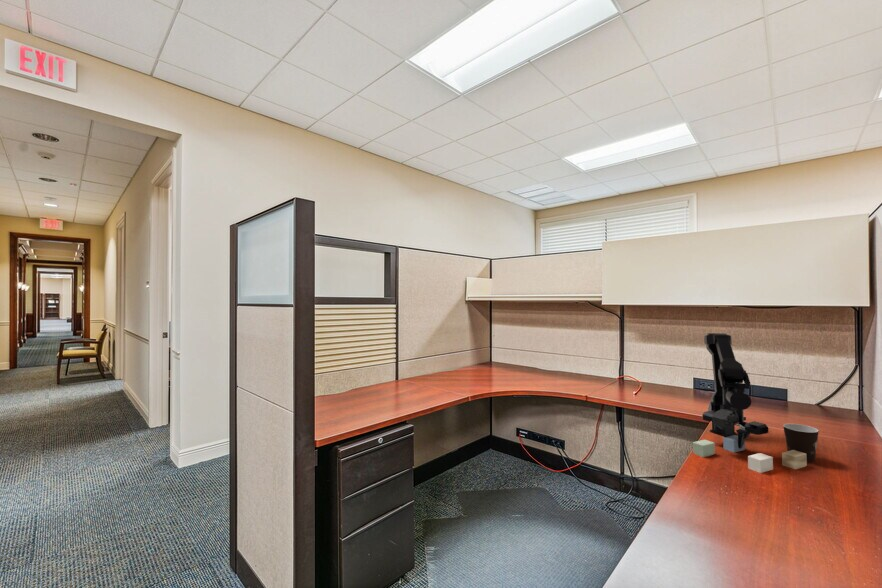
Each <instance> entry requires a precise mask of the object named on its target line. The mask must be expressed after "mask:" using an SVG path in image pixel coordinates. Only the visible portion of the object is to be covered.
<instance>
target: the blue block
mask: <svg viewBox="0 0 882 588" xmlns="http://www.w3.org/2000/svg"><path fill="white" fill-rule="evenodd" d="M722 439H723V441H722V442H723V450H725V451H729V452H731V453H738V452H741V451H745V450H746V442H745V443H744V445H743V447H742V448H739V447H738V435H736V434H734V435H731V436H728V437H724V436H723V438H722Z"/></svg>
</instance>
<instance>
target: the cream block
mask: <svg viewBox="0 0 882 588" xmlns="http://www.w3.org/2000/svg"><path fill="white" fill-rule="evenodd" d="M773 459H774V457H773V456H770V455H767V454H764V453H761V452H759V453H758V452H757V453H755V454H751V455H748V456H747V468H748V469H749V470H750V471H751V470H752V471H755V472H758V473H759V474H762V473H765V472H768V471H773V470H774V460H773Z"/></svg>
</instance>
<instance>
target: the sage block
mask: <svg viewBox="0 0 882 588" xmlns="http://www.w3.org/2000/svg"><path fill="white" fill-rule="evenodd" d="M715 446H716V444H715V442H713V441H710V440H708V439H701V440H697V441H693V442H692V454H693V453H694V455H696V456H699V457H702V458H706V457H710V456H712V455H716V447H715Z"/></svg>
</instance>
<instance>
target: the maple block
mask: <svg viewBox="0 0 882 588" xmlns="http://www.w3.org/2000/svg"><path fill="white" fill-rule="evenodd" d="M781 465H782V466H783V467H787V468H790V469H793V470H799V469H802V468H805V467H807V466H808V462H807V454H806V453H802V452H799V451H795V450H791V451H788V450H787V451H784V452H782V453H781Z"/></svg>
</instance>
